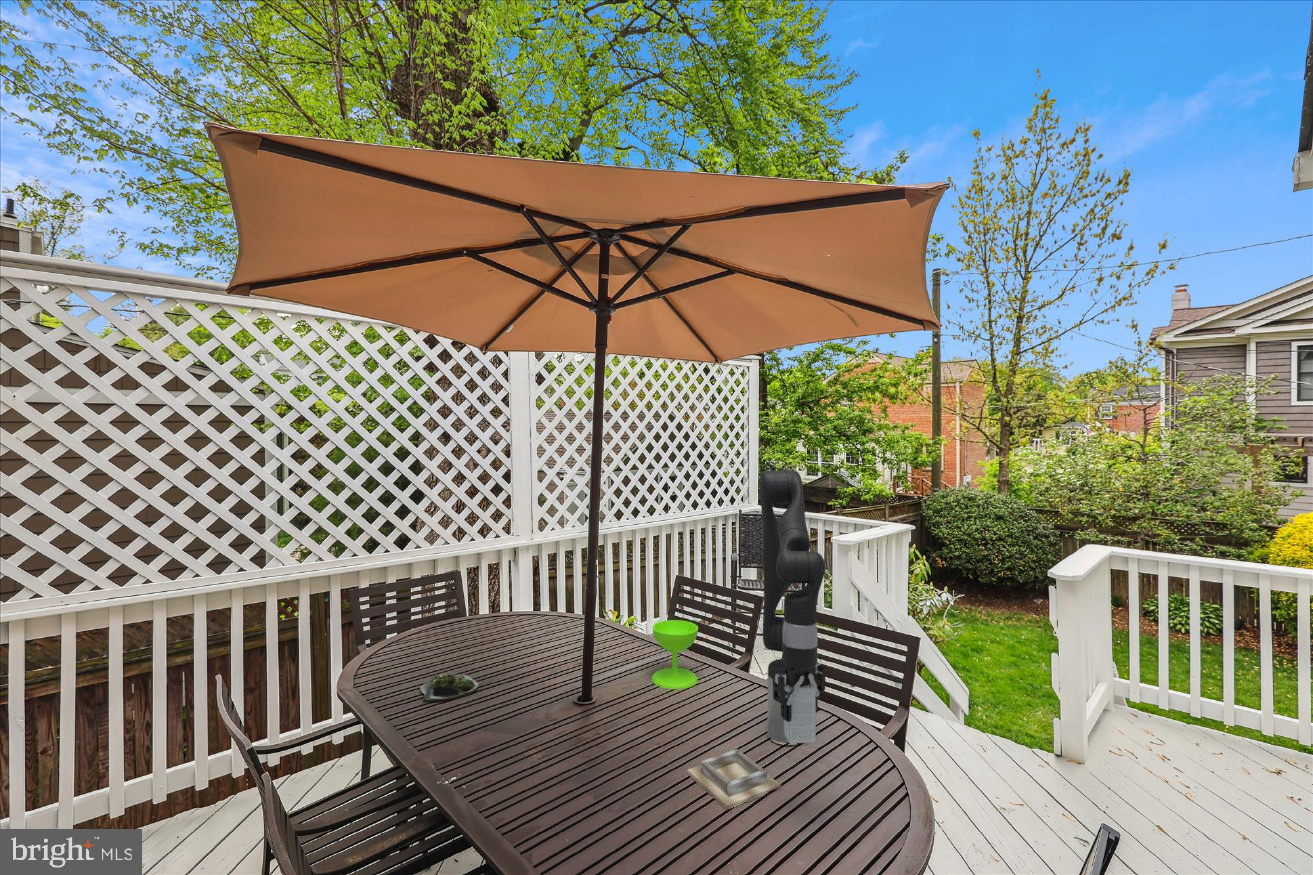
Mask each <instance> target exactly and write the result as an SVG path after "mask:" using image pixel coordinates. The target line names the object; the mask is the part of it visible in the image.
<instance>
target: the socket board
mask: <svg viewBox="0 0 1313 875" xmlns="http://www.w3.org/2000/svg"><path fill="white" fill-rule="evenodd" d="M699 763H700V764H699V765H696V766H694V767H691V768H688V769H687V775H688V776H689V777H690V778H692V779H693V781H695V782H696V783H697V784H698V785H699V786H700V787H702V789H704V791H705V792H707V794H709V795H710V796H711V797H712V799H714V800H715V799H716V800H715V801H716V802H717V801H718V802H717V803H718V804H719V803H720V804H719V805H720V806H722V807H723V808H724V809H725V810H726V809H727V810H726V811H729V810H731V808H732V809H734V808H737V807H739V806H741V805H740V804H742V803H744V802H746V801H749V800H750V799H752V798H754V797H757V796H760V795H761V794H764V793H767V792H769V791H772V790H774V789H777V788H779V787H781V788H782V784H781V783H779V782H778V781H777V780H776V779H774V778H773V777H772V776H770V775H769V774H768V771H767V770H766V769H764V768H762V767H761V765H759V764H757V763H756V762H755V761H753V760H752V759H751V758H750V757H748V756H747V755H746V754H744V753H743V752H742V751H740V750H739V749H738V748H736V749H733V750H730V751H727V752H724V753H722V754H718V755H716V756H713V757H710V758H706V759H703V760H701V761H700V762H699ZM749 802H750V801H749ZM744 804H745V803H744ZM738 805H739V806H738ZM742 805H743V804H742ZM736 806H737V807H736ZM733 807H734V808H733ZM728 809H729V810H728Z"/></svg>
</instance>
